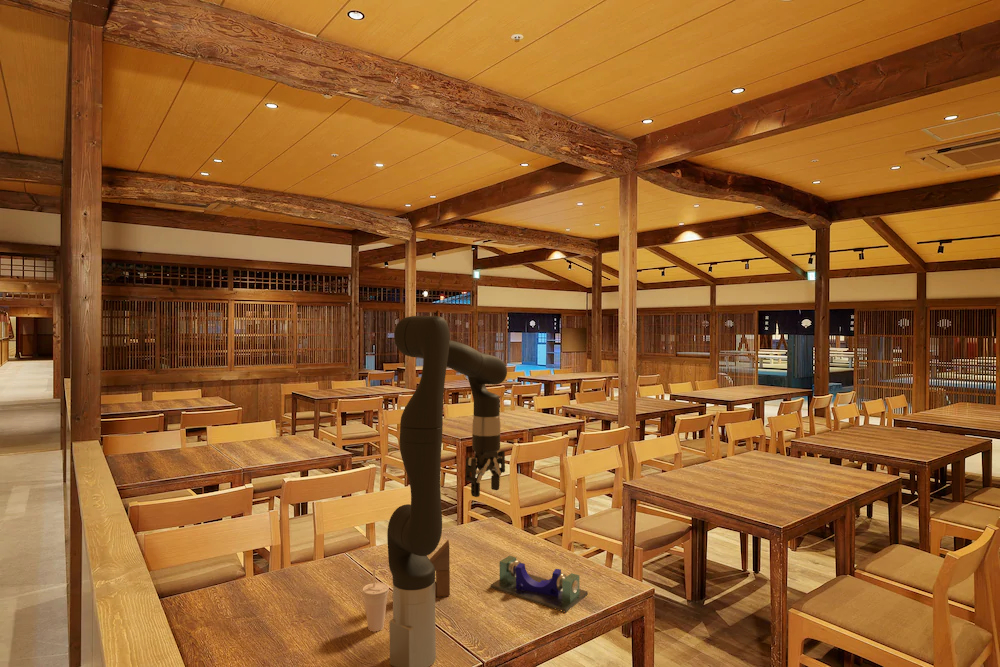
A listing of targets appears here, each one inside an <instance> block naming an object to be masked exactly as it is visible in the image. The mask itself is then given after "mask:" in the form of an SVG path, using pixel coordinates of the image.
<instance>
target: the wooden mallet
mask: <svg viewBox="0 0 1000 667" xmlns="http://www.w3.org/2000/svg"><path fill="white" fill-rule="evenodd" d="M429 560H430V561H431V563H432V564H433V565H434V568H435V598H436V597H437V598H440V596H443V597H449V596H450V595H451V590H450V589H451V587H450V586H451V584H450V583H451V578H450V576H451V574H450V572H451V571H450V569H451V568H450V564H451V563H450V540H449V539H447V540H446V541H445V542H444V543H443V545H441V547H440V548H439V549H438V550H437V551H435V553H434V554H433V555H432V556H431V557H430V558H429Z"/></svg>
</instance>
